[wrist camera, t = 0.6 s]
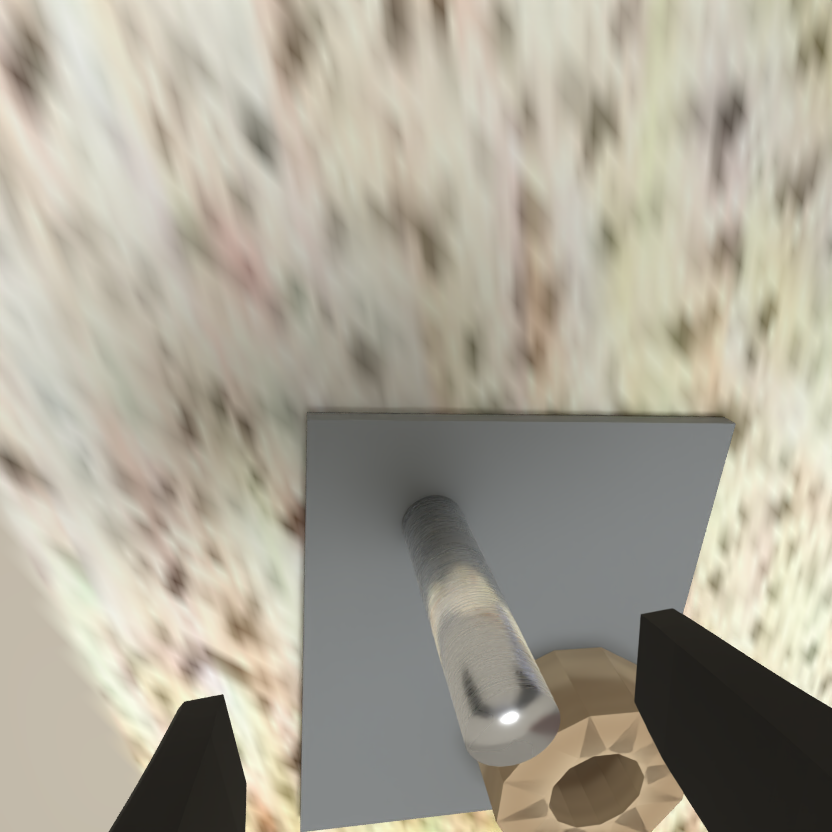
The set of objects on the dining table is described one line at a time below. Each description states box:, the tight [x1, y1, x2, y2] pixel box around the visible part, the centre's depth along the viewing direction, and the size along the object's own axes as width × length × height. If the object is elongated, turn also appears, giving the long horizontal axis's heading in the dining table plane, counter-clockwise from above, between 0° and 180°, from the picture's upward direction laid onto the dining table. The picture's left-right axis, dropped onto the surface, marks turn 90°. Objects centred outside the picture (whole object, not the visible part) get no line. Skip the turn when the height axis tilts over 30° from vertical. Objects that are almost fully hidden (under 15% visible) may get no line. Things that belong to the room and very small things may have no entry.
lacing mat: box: [300, 412, 735, 832], centre depth 22 cm, size 14×17×1 cm
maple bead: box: [478, 647, 684, 832], centre depth 22 cm, size 7×7×3 cm
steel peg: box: [402, 495, 560, 767], centre depth 16 cm, size 2×2×8 cm
